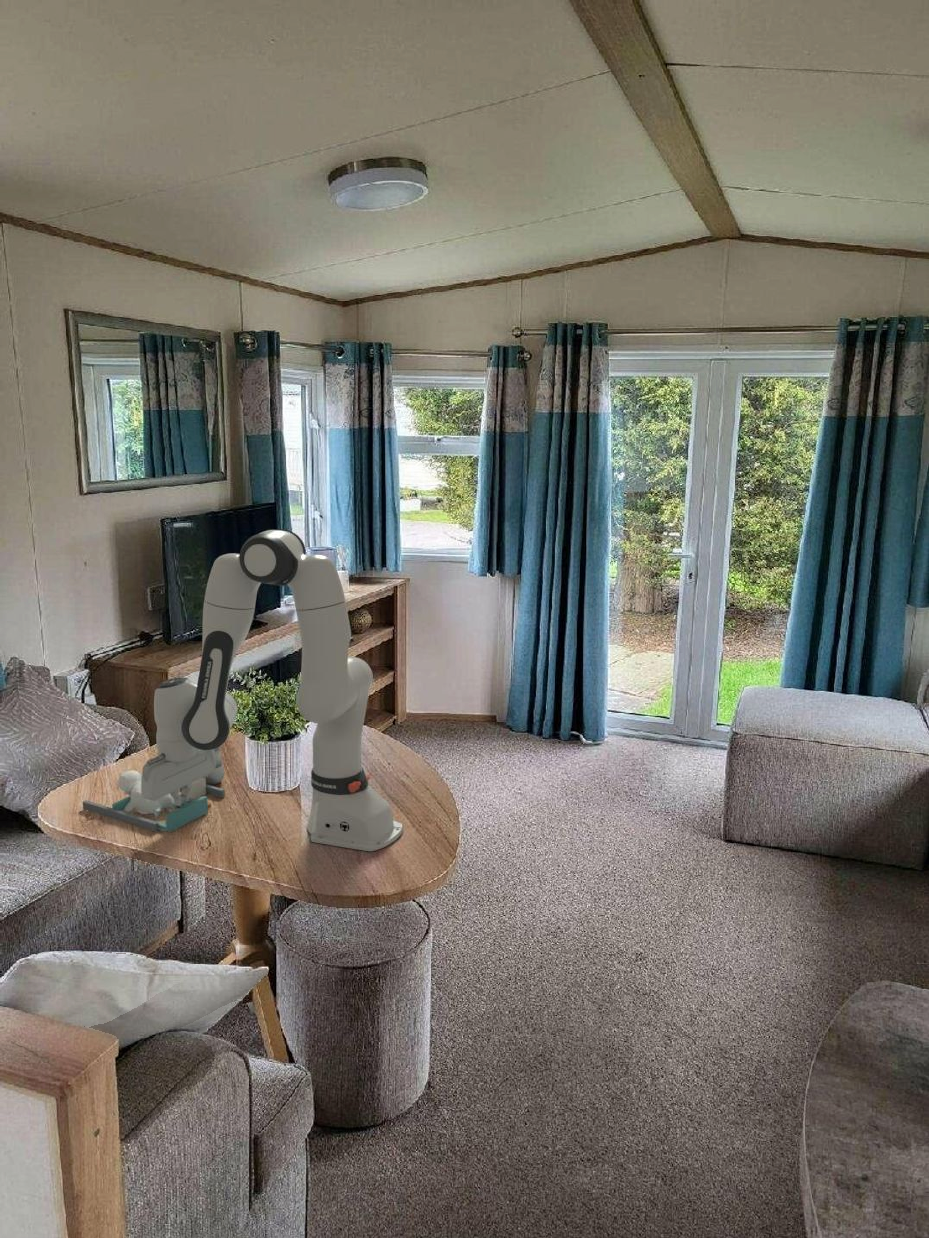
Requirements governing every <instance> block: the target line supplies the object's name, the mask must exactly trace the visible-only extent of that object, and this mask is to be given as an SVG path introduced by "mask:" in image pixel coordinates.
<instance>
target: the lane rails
mask: <svg viewBox="0 0 929 1238" xmlns="http://www.w3.org/2000/svg"><path fill="white" fill-rule="evenodd" d="M225 791H226V790H225V788H220V787H217V786H214V785H207V784H206V794H205V795H210V796H213V797H217V798H220V799H223V798H225V796H226V794H225V793H226V792H225ZM196 799H197V798H196ZM196 799H192V798H189V801H188V802H186V803H190V802H192V801H194V800H196ZM82 809H85V810H84V811H86V810H88V811H87V812H89V811H90V813H93V814H96V815H100V816H102V817H106V818H109V819H112V820H115V821H119V822H121V823H124V824H128V825H131V826H134V827H137V828H141V829H144V830H147V831H150V832H154V833H158V832H159V831H160V829H159V823H160V822H159V823H158V821H156V822H155V820H152V819H149V818H146V819H145V817H143V816H139V815H136V816H135V814H133V815H132V813H130V812H129V813H130V814H129V813H126V812H122V811H119V810H116V809H113V808H112V807H109V806H106V805H103V804H99V803H97V802H93V801H90V800H83V801H82ZM142 817H143V818H142ZM148 819H149V820H148Z"/></svg>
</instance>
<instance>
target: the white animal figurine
mask: <svg viewBox="0 0 929 1238" xmlns="http://www.w3.org/2000/svg"><path fill="white" fill-rule="evenodd" d="M140 774H141V773H139V772H138V771H137V770H127V771H124V772H123V773H122V774H120V776H119V777H118V781H117V782H118V788H119V789H120V790H121V791H123V792H124V793H125V794H127V795H130V796H131V800H130V802H129V803H128V804H127V805H126V807H125V808H124V810H123V812H126V813H131V812H133V811H134V810H137V811H138V812H139V813H140V814H143V815H148V814H149V815H154V821H155V820H158V819H159V817H160V815H161V813H162V812H164V811H165V810H168V809H170V812H172V811H174V810H176V805H175V804H174V798H173V797H172V796H171V794H168V795H166V796H163V797H161V798H159V799H157V800H155V801H152V800H148V799H145V798H144V797H143V796H142V794H141V780H142V777H141V775H140Z"/></svg>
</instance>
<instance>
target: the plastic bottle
mask: <svg viewBox="0 0 929 1238" xmlns="http://www.w3.org/2000/svg"><path fill="white" fill-rule="evenodd" d="M221 747H222V745H221V746H220V747H218V748H216V749H214V751H215V759H216V767H215V770H214V772H213V773H210V774H208V775H206V776H204V777H202V778H205V779H206V784H207V785H210V786H214V785H217V784H220V783H221V782H223V780H224V778H225V768H224V765H223V759H222V753H221V750H222V749H221Z"/></svg>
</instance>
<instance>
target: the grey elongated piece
mask: <svg viewBox="0 0 929 1238" xmlns="http://www.w3.org/2000/svg"><path fill="white" fill-rule="evenodd" d="M139 774H140V775H141V777H142V773H139ZM205 795H207V794H206V779H205V778H200V779H198V780H196V781H194V782H192V787H191V790H190V793H189V798H192V799H198V798H200V797H202V796H205Z"/></svg>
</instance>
